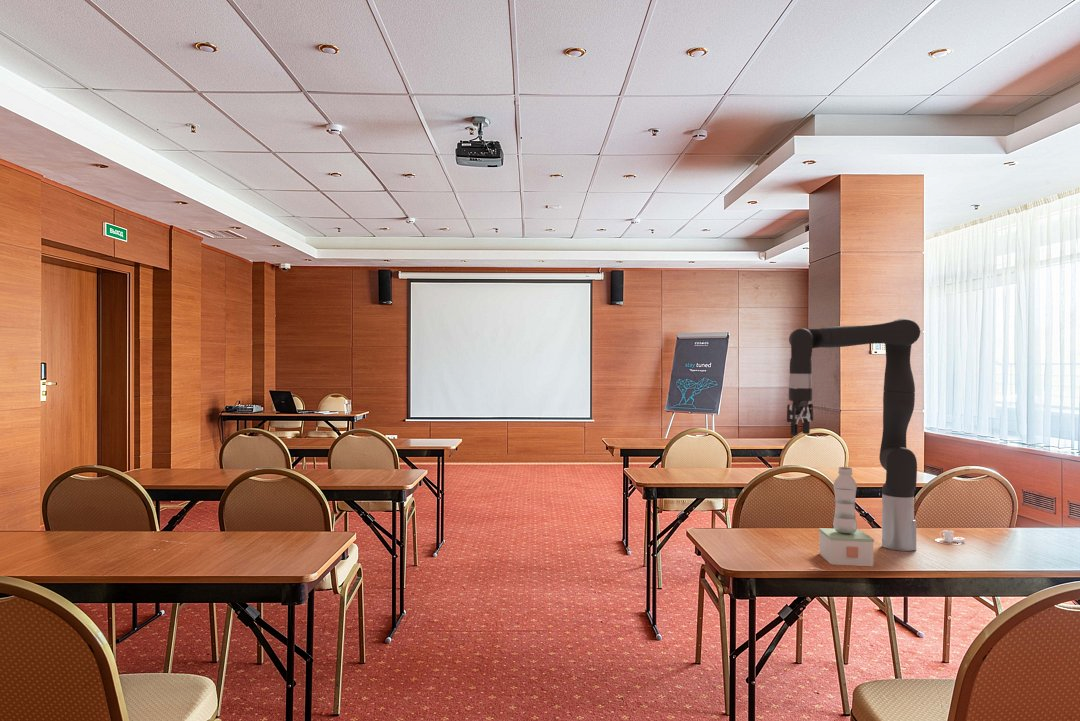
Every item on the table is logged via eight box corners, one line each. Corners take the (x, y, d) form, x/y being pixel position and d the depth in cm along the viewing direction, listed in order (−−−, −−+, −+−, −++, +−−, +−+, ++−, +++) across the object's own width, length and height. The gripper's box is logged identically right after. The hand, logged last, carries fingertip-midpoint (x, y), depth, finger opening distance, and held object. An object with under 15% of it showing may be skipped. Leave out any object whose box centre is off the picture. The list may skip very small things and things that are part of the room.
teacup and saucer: (965, 542, 229) (965, 530, 229) (964, 547, 223) (964, 535, 223) (935, 538, 234) (935, 527, 234) (934, 543, 228) (934, 531, 228)
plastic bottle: (857, 536, 201) (857, 470, 201) (832, 534, 204) (833, 468, 204) (857, 532, 207) (857, 467, 207) (833, 529, 210) (833, 465, 210)
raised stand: (859, 555, 210) (859, 529, 210) (874, 566, 198) (874, 539, 198) (818, 553, 212) (819, 528, 212) (831, 564, 199) (831, 537, 199)
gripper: (799, 386, 236) (799, 432, 236) (779, 386, 227) (779, 434, 226) (820, 387, 231) (820, 434, 230) (801, 387, 221) (801, 436, 221)
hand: (800, 434), depth 228 cm, fingers open, 8 cm apart
